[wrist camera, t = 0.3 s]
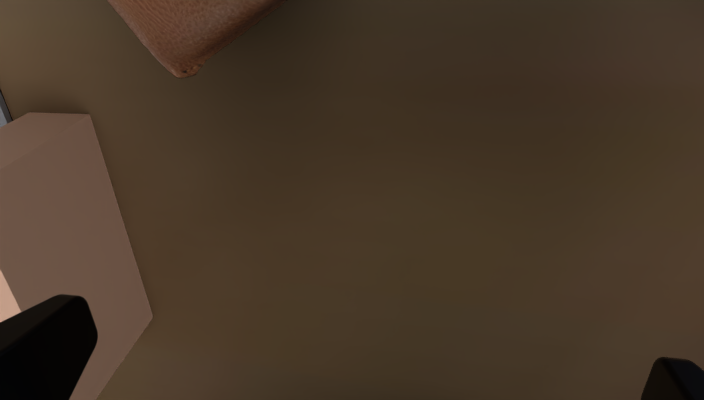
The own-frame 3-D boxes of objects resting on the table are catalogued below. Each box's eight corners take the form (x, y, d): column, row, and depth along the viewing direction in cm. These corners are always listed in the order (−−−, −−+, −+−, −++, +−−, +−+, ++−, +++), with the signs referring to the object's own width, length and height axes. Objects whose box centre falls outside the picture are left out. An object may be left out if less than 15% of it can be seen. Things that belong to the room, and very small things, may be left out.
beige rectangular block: (154, 315, 29) (77, 426, 23) (105, 311, 29) (17, 417, 23) (91, 113, 23) (-37, 192, 17) (30, 111, 23) (-115, 187, 17)
